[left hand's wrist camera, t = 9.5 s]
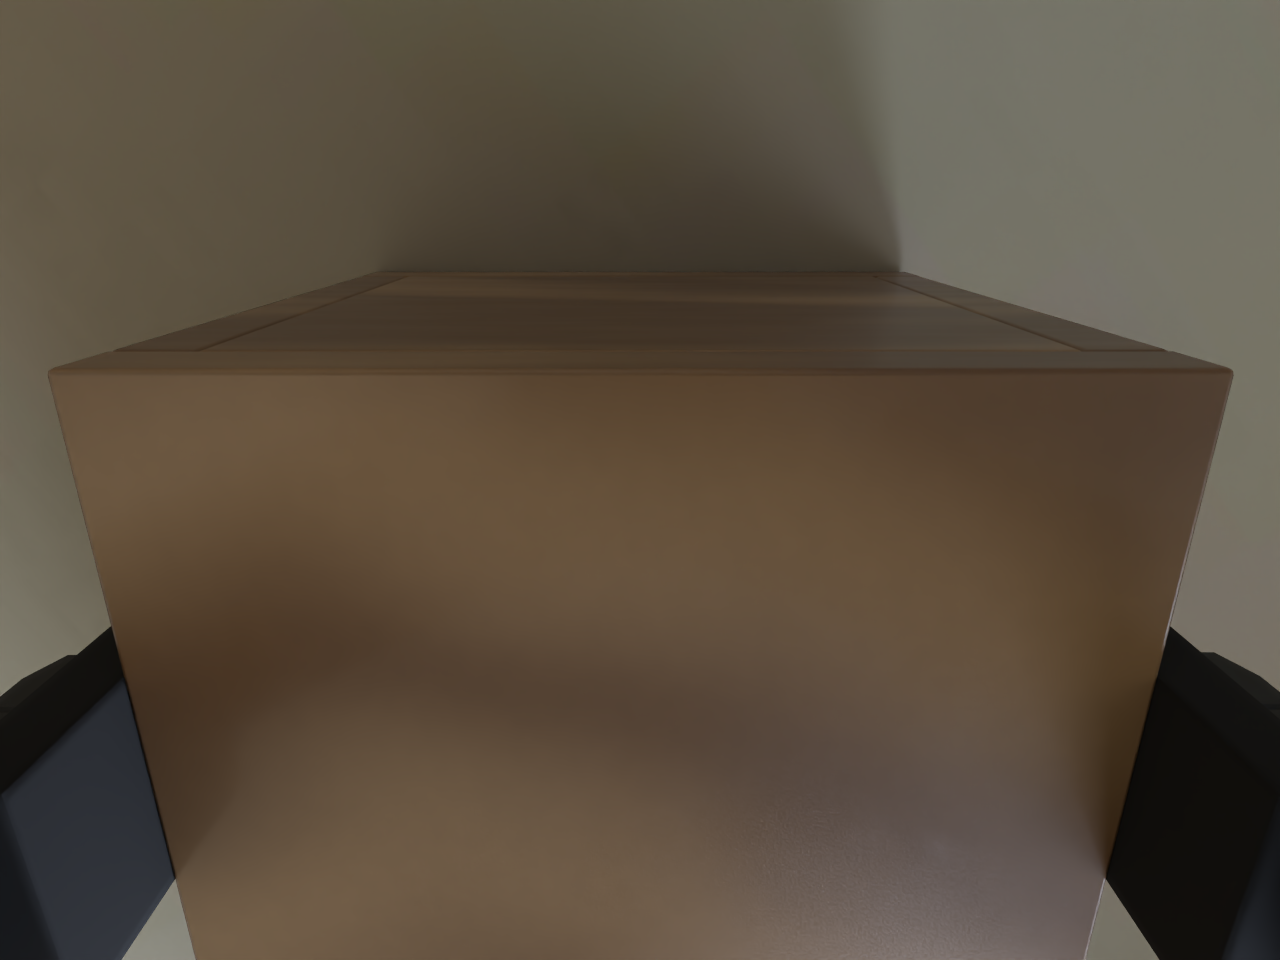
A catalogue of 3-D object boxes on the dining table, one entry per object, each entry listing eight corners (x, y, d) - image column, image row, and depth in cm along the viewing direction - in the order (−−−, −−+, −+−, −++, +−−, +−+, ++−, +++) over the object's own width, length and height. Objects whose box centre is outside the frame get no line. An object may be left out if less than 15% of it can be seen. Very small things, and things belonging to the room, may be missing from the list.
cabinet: (828, 987, 23) (949, 1500, 14) (452, 986, 23) (331, 1500, 14) (906, 271, 16) (1240, 369, 7) (374, 271, 16) (42, 369, 7)
